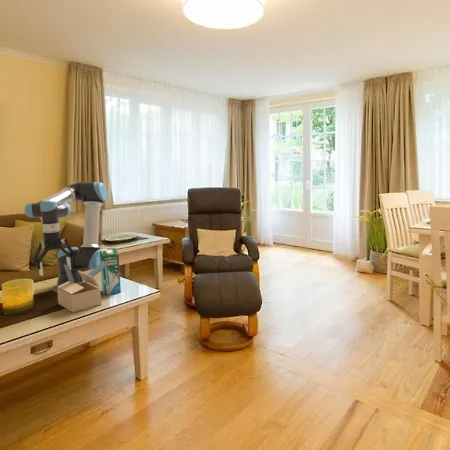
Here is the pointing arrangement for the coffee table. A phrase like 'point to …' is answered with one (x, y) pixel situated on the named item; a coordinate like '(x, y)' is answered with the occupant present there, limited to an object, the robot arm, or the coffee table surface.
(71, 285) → the flap
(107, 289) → the milk carton
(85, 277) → the flap
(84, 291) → the carton box
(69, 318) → the coffee table surface
